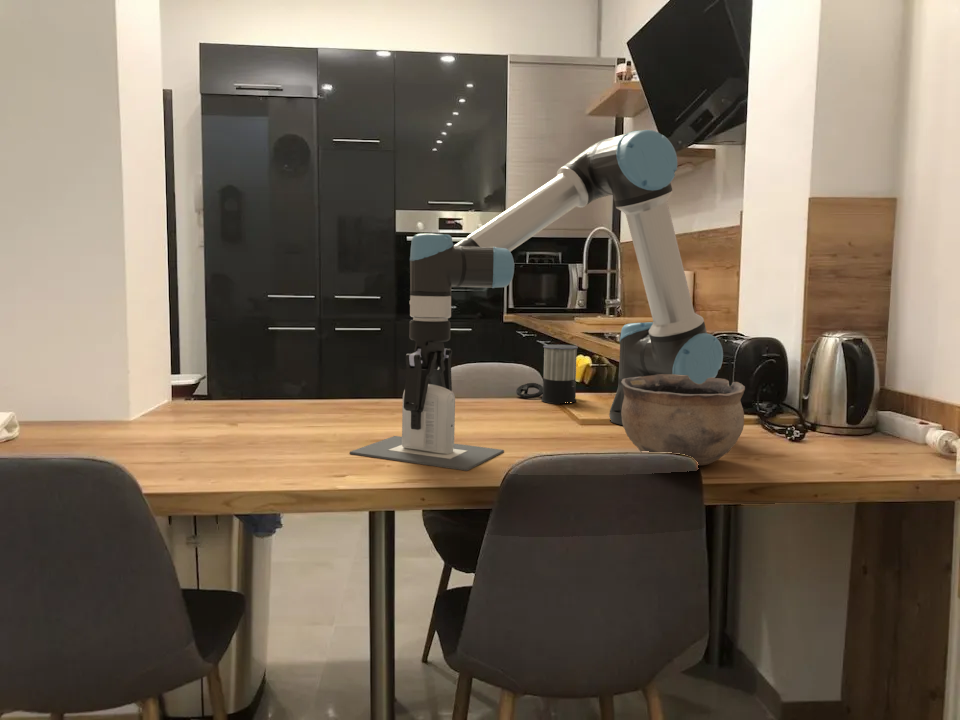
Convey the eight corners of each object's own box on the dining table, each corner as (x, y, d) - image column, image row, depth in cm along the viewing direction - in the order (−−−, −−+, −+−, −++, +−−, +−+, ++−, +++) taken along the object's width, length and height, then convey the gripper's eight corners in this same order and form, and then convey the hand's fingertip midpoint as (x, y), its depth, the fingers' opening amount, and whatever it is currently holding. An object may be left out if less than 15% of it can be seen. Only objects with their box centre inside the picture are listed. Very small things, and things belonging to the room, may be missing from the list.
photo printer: (457, 450, 145) (458, 385, 144) (447, 455, 142) (448, 388, 140) (409, 444, 150) (410, 380, 148) (398, 449, 146) (398, 383, 144)
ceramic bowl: (763, 464, 143) (768, 383, 141) (704, 485, 128) (709, 395, 126) (658, 443, 159) (662, 370, 157) (594, 460, 143) (597, 379, 141)
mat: (503, 451, 148) (504, 449, 148) (467, 470, 133) (467, 467, 133) (394, 437, 158) (394, 435, 158) (349, 453, 143) (349, 451, 143)
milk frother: (577, 405, 202) (580, 348, 200) (516, 403, 202) (518, 346, 201) (572, 396, 216) (574, 343, 214) (515, 394, 216) (517, 341, 215)
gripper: (437, 315, 153) (435, 430, 156) (383, 320, 135) (382, 450, 138) (472, 317, 150) (469, 434, 153) (421, 323, 132) (419, 455, 135)
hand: (428, 442), depth 145 cm, fingers open, 7 cm apart
